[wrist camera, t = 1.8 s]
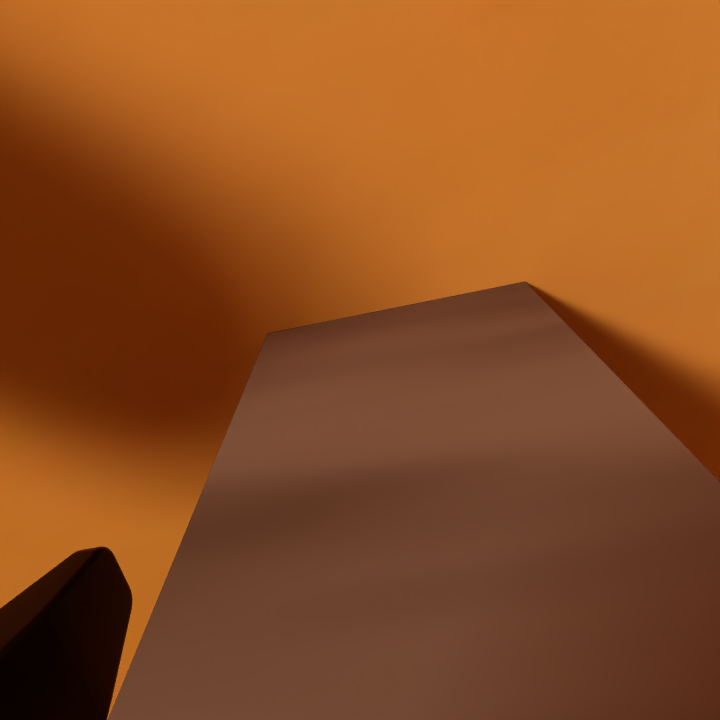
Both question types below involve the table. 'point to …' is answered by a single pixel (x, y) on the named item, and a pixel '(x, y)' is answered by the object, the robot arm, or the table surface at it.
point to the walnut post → (440, 535)
